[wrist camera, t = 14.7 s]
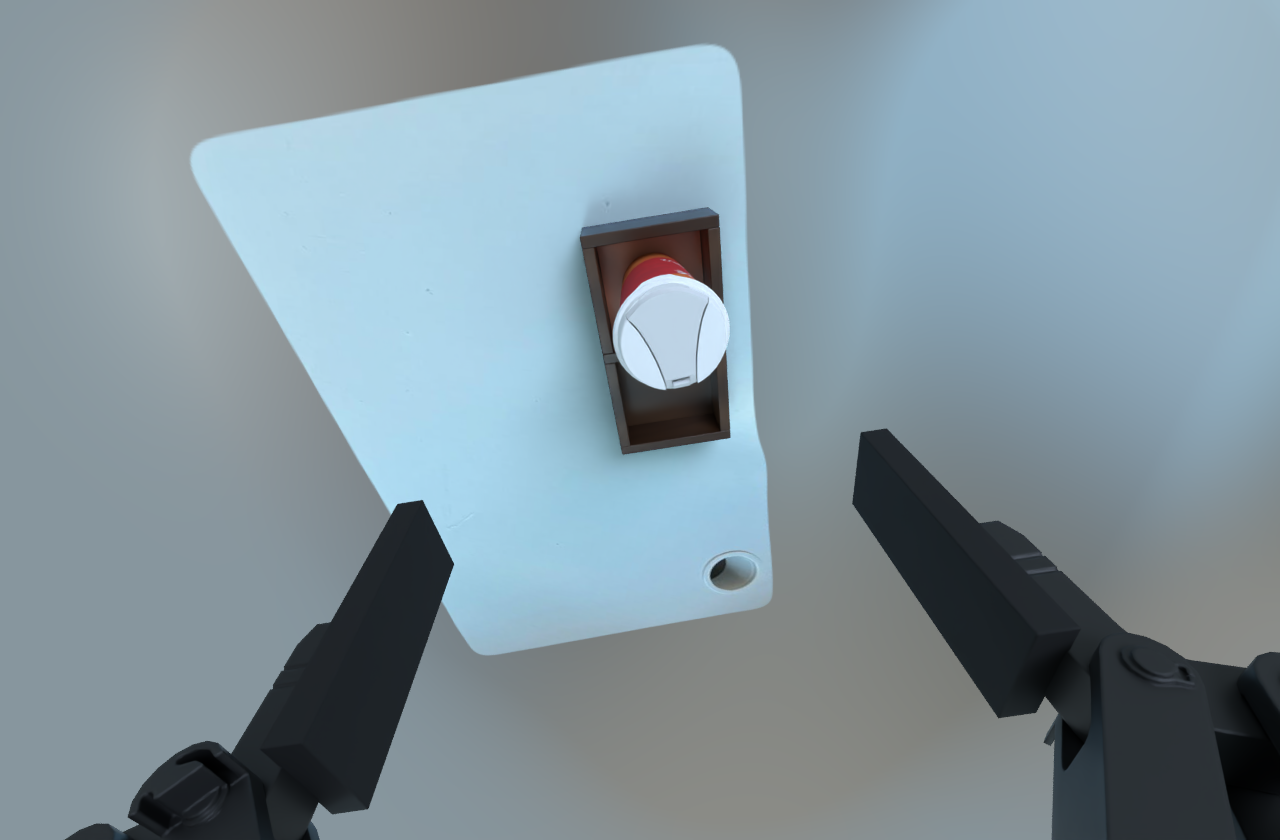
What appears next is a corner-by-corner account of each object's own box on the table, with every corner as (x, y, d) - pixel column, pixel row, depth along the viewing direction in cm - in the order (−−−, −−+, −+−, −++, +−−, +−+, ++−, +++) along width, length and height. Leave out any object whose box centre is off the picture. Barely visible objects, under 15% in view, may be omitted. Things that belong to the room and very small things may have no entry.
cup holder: (581, 227, 43) (579, 236, 39) (708, 207, 43) (719, 214, 39) (621, 431, 54) (622, 454, 50) (721, 416, 54) (730, 438, 50)
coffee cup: (702, 316, 47) (740, 383, 34) (621, 334, 47) (628, 407, 34) (689, 227, 43) (726, 266, 30) (600, 248, 43) (598, 295, 30)
